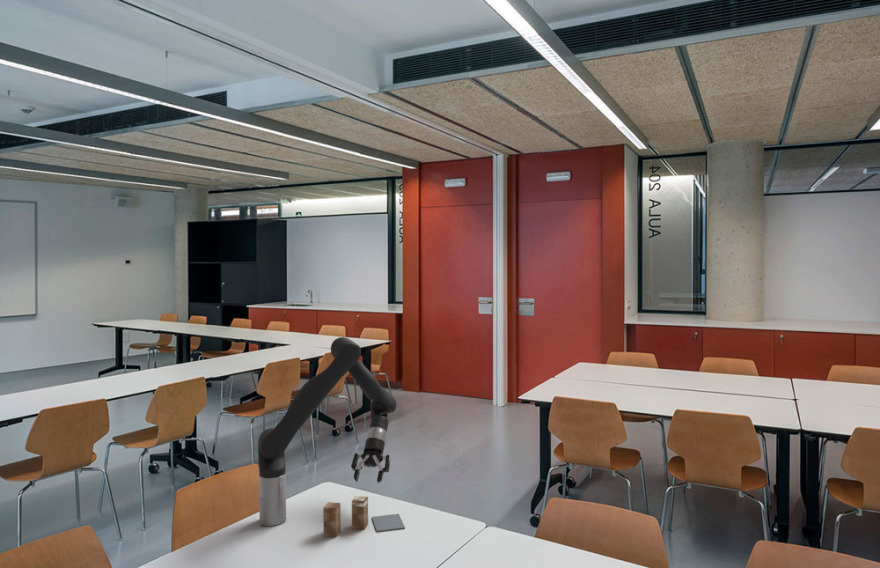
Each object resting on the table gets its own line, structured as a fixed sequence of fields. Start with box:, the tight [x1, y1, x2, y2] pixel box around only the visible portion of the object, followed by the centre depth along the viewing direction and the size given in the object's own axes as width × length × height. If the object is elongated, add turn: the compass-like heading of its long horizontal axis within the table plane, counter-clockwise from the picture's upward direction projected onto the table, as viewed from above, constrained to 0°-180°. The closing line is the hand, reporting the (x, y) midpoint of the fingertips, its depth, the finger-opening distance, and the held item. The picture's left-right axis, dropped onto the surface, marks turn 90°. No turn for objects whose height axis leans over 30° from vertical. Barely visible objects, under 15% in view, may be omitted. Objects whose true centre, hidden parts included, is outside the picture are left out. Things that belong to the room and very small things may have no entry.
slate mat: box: [371, 513, 406, 533], centre depth 208 cm, size 10×12×1 cm
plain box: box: [322, 501, 342, 538], centre depth 199 cm, size 4×4×10 cm
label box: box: [351, 495, 369, 531], centre depth 205 cm, size 5×5×10 cm
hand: (367, 481), depth 214 cm, fingers open, 8 cm apart
